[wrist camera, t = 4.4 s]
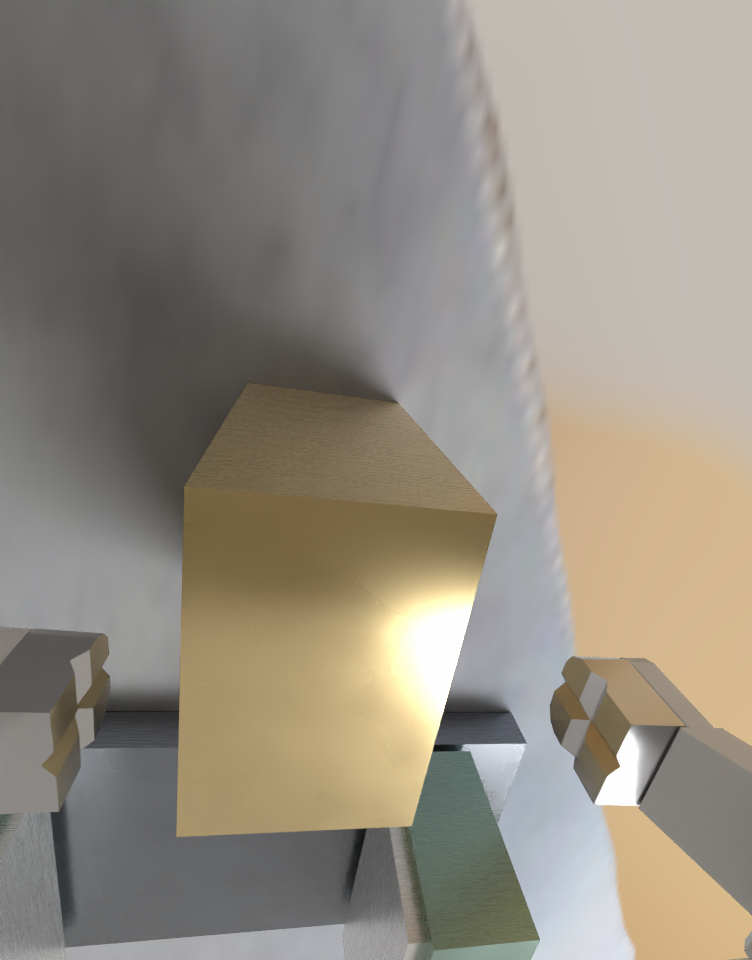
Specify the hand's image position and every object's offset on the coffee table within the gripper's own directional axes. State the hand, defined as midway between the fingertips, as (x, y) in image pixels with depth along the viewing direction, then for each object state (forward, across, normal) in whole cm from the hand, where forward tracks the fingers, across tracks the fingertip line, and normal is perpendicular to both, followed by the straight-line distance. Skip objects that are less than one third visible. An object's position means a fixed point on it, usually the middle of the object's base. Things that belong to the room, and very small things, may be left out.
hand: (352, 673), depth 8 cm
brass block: (+8, -1, 0) cm, 8 cm away
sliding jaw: (+6, +5, -15) cm, 16 cm away
